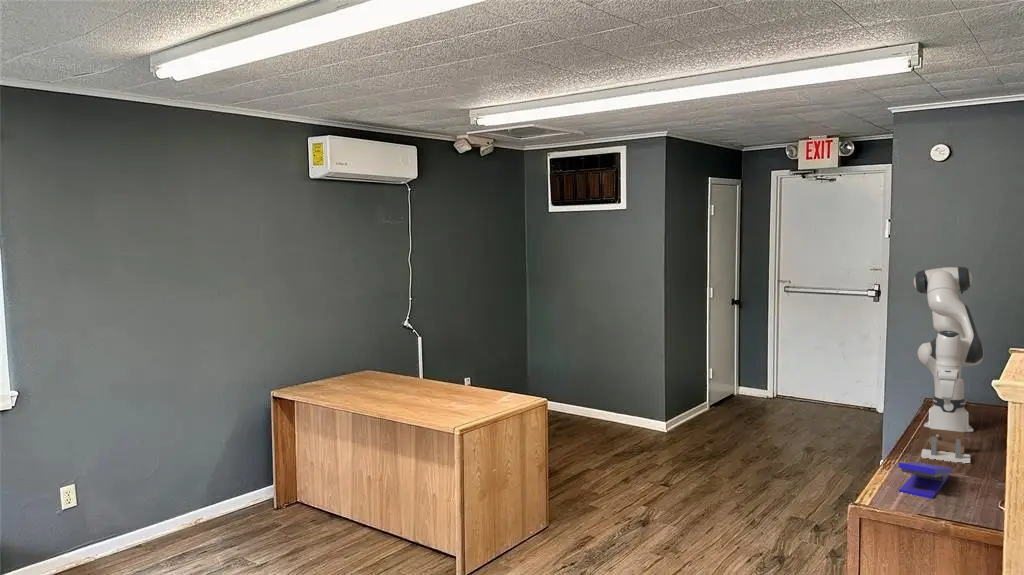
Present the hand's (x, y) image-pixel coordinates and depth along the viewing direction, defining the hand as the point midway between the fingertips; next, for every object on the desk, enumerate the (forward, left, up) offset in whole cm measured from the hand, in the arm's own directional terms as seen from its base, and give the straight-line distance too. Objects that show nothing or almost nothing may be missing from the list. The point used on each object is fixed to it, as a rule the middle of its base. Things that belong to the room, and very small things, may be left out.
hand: (947, 406), depth 289 cm
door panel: (0, 0, -18) cm, 18 cm away
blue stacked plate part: (+49, -5, -18) cm, 53 cm away
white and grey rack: (+12, 0, -18) cm, 21 cm away
